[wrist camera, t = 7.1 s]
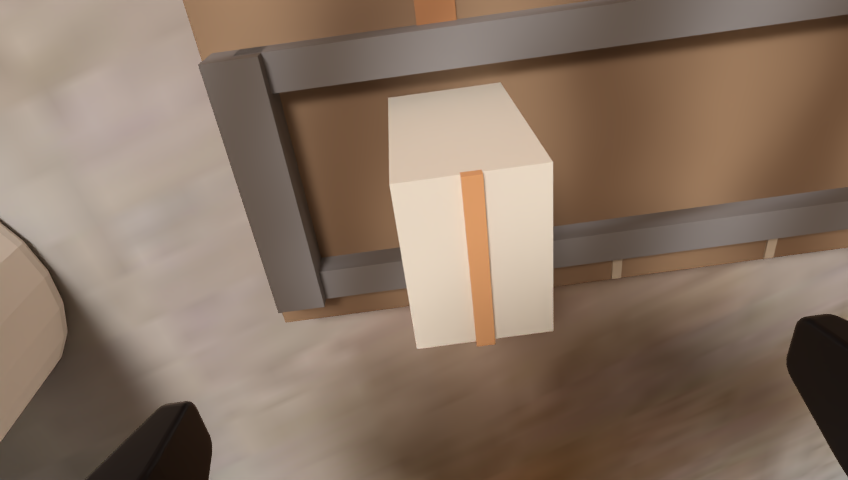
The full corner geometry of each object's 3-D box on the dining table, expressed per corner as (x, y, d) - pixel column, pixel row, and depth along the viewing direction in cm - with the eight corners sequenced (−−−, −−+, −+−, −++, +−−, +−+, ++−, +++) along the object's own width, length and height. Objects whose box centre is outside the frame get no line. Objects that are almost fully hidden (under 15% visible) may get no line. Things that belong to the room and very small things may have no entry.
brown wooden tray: (1021, -129, 15) (1166, -137, 12) (901, 205, 20) (983, 252, 17) (205, -14, 15) (164, 3, 12) (293, 287, 20) (279, 346, 18)
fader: (500, 81, 15) (554, 164, 10) (507, 215, 17) (555, 336, 12) (387, 97, 15) (388, 186, 10) (408, 228, 17) (417, 354, 12)
